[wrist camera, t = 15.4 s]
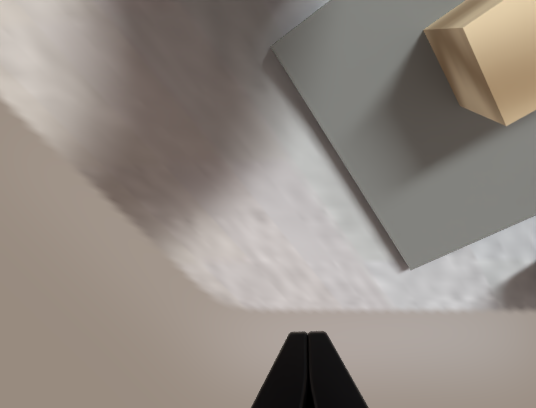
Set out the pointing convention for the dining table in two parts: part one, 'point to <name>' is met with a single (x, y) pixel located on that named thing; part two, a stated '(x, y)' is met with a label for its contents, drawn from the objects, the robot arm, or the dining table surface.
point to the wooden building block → (489, 56)
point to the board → (409, 126)
